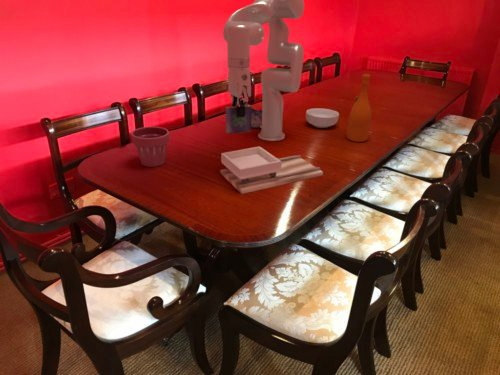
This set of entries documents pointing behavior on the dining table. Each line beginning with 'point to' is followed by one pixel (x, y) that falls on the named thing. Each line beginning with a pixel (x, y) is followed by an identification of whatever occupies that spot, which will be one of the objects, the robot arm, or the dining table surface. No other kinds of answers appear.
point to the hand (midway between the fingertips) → (238, 115)
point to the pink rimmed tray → (251, 163)
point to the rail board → (290, 172)
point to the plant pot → (151, 145)
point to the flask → (238, 120)
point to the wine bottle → (360, 114)
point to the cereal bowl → (322, 117)
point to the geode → (256, 118)
